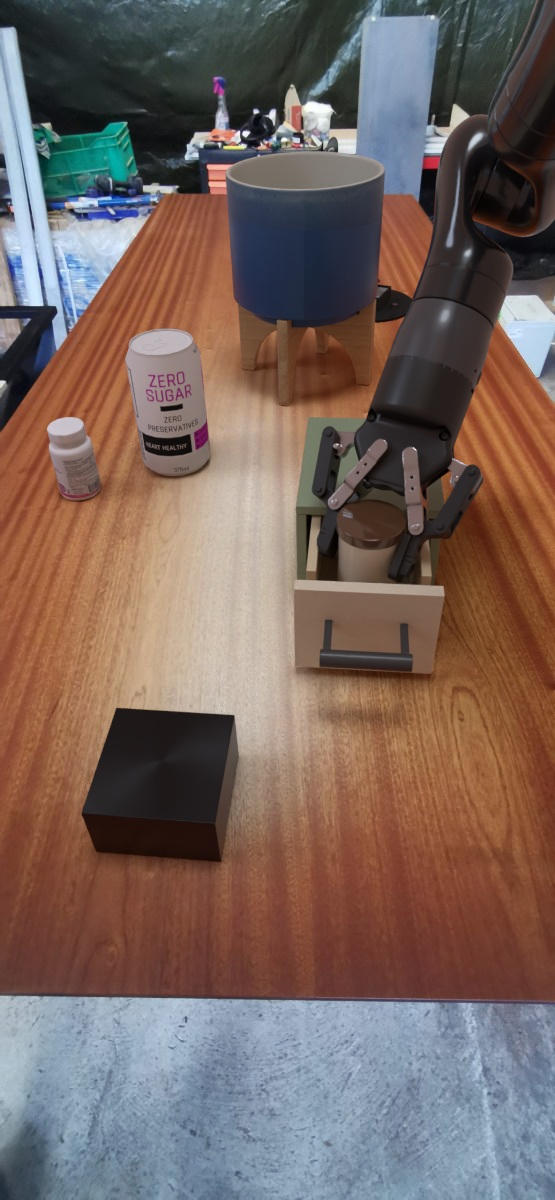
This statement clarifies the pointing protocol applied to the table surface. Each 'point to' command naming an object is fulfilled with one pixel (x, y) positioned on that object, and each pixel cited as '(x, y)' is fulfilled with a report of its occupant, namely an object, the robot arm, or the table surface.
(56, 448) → the pill bottle
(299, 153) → the planter
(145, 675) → the table surface
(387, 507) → the jar
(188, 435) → the supplement can
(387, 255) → the table surface
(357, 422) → the cabinet
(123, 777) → the stand
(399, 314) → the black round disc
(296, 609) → the drawer
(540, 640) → the table surface
